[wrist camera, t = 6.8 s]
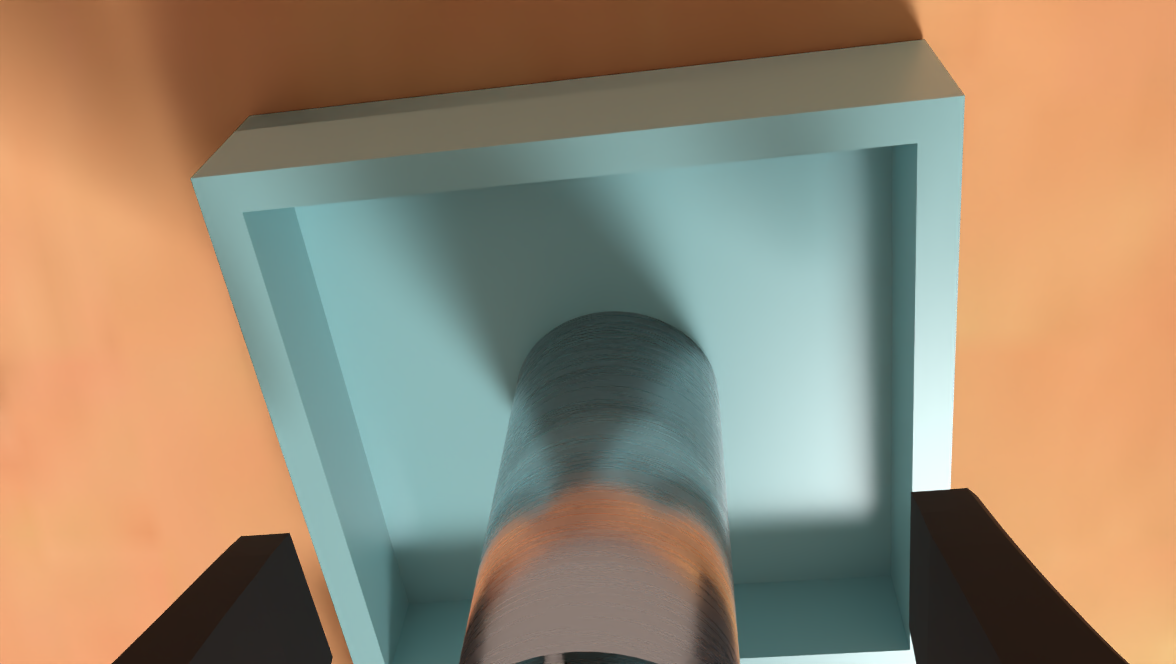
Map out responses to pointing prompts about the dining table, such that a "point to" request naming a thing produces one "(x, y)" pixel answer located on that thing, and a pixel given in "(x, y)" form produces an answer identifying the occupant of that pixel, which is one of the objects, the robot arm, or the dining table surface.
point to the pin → (609, 506)
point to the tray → (603, 284)
